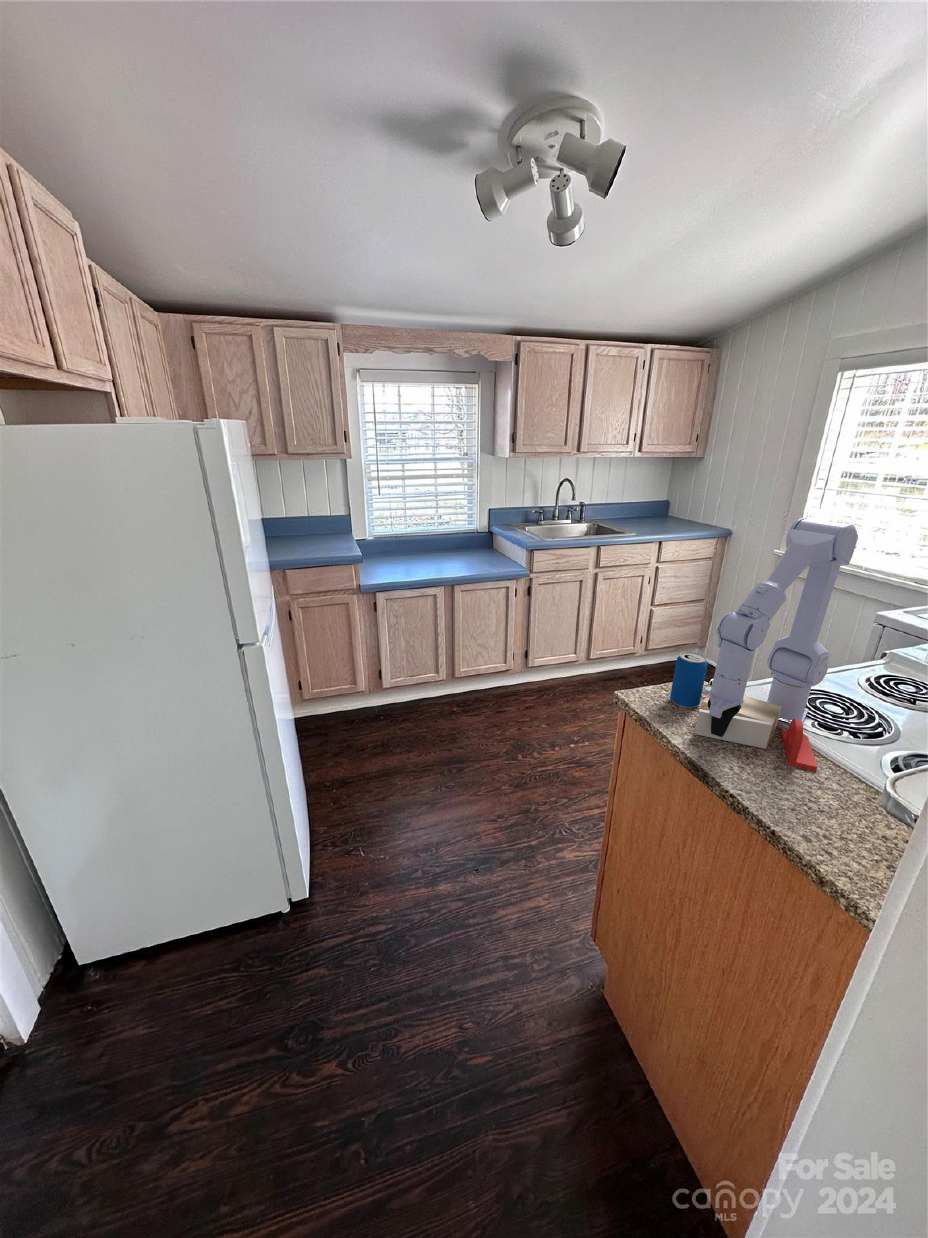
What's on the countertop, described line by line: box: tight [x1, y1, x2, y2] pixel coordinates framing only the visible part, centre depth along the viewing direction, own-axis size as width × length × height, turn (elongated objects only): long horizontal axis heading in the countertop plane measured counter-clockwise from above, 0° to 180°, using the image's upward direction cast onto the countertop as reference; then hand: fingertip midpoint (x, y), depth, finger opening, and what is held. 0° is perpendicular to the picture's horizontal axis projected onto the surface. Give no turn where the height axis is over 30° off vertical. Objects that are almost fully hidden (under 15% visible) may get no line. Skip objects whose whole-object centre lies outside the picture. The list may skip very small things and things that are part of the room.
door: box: [694, 708, 772, 750], centre depth 100 cm, size 1×13×6 cm, turn 67°
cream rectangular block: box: [700, 694, 782, 748], centre depth 105 cm, size 9×13×6 cm
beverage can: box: [669, 651, 708, 709], centre depth 113 cm, size 6×6×12 cm
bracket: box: [780, 719, 818, 772], centre depth 97 cm, size 12×4×8 cm, turn 154°
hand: (717, 734), depth 99 cm, fingers closed
